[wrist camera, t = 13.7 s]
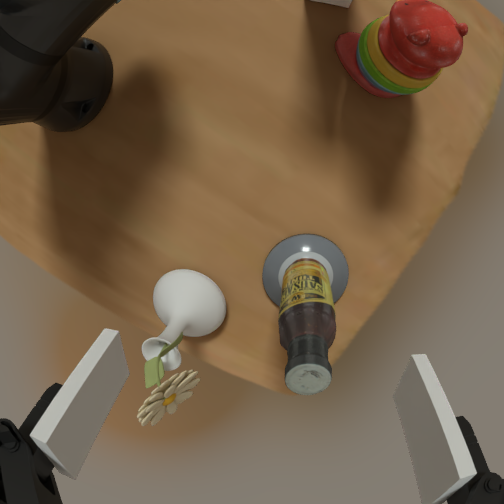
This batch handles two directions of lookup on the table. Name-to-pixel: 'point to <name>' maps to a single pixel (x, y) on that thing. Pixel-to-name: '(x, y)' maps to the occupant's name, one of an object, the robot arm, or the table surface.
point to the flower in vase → (178, 337)
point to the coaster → (304, 248)
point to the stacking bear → (402, 48)
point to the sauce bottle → (307, 326)
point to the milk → (336, 2)
